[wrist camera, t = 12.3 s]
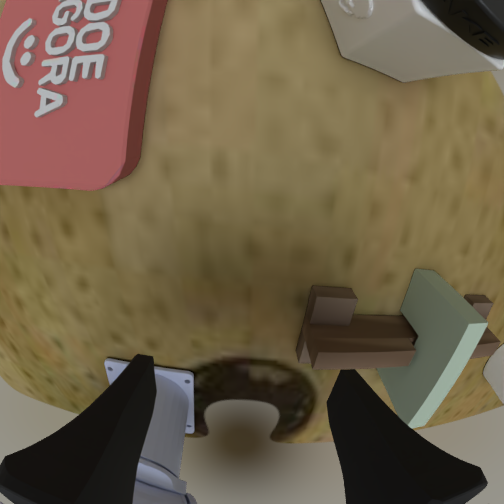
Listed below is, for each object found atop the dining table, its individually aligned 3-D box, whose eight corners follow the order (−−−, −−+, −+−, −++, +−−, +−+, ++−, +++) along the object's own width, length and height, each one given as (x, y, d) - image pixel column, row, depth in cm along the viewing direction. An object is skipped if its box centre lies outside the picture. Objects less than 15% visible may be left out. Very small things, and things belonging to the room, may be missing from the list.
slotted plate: (393, 366, 25) (424, 425, 18) (375, 367, 25) (404, 429, 18) (434, 270, 21) (488, 322, 14) (415, 268, 21) (469, 323, 14)
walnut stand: (460, 345, 25) (481, 373, 21) (295, 350, 24) (304, 391, 19) (484, 295, 23) (511, 320, 18) (312, 285, 21) (327, 323, 17)
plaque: (-5, -35, 7) (178, -84, 8) (20, -23, 10) (187, -56, 12) (-45, 185, 14) (119, 196, 15) (-14, 174, 17) (140, 182, 19)
